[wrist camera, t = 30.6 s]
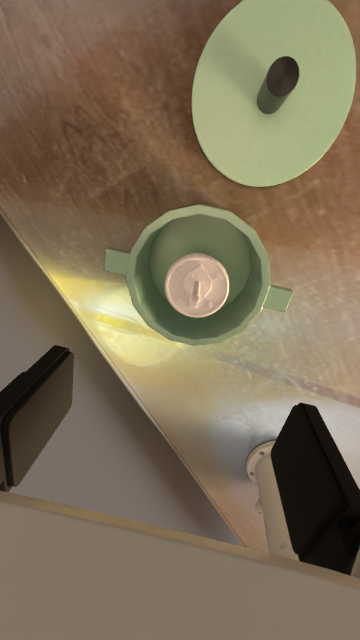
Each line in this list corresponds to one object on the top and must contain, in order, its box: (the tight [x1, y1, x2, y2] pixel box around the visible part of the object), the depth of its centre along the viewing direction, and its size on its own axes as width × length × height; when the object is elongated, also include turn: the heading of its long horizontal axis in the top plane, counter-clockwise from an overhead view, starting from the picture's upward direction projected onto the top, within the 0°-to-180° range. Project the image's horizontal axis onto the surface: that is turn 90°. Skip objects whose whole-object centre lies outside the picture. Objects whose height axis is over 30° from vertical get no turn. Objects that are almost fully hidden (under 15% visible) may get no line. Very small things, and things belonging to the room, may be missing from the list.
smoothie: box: [165, 252, 229, 317], centre depth 28 cm, size 6×6×14 cm
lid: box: [192, 0, 356, 187], centre depth 24 cm, size 16×16×6 cm
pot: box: [104, 204, 293, 346], centre depth 31 cm, size 15×20×8 cm
